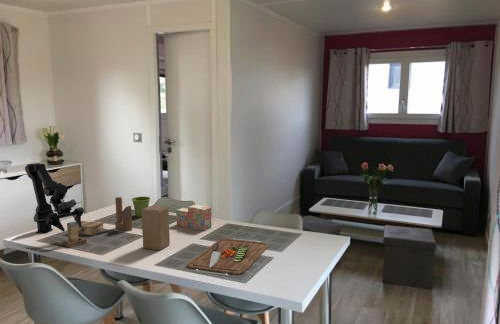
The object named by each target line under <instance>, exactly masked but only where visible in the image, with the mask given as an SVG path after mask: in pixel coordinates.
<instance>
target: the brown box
mask: <svg viewBox="0 0 500 324" xmlns="http://www.w3.org/2000/svg"><path fill="white" fill-rule="evenodd" d="M102 231H104V222H102V221H87V220H85V221H83V220H81V227H80V226H79V225H78V235H86V236H87V235H89V236H95V235H97V234H99V233H102Z"/></svg>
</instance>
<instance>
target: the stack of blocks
mask: <svg viewBox="0 0 500 324" xmlns="http://www.w3.org/2000/svg"><path fill="white" fill-rule="evenodd" d="M175 213H176V215H175V216H176V226H180V227H185V228H190V229H195V230H199V231H204V232H205V231H207V230H209V229H211V228H212V207H211V206H210V207H209V206H205V205H198V204H192V205H191V206H188V207H187V208H186V207H181V208H178V209H176V210H175Z"/></svg>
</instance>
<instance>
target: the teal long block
mask: <svg viewBox="0 0 500 324" xmlns="http://www.w3.org/2000/svg"><path fill="white" fill-rule="evenodd" d="M66 227H67V242H70V243H73V242H76V241H79V238H78V237H79V234H78V223H77V222H76V221H75V220H74V221H70V222H67V223H66Z"/></svg>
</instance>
